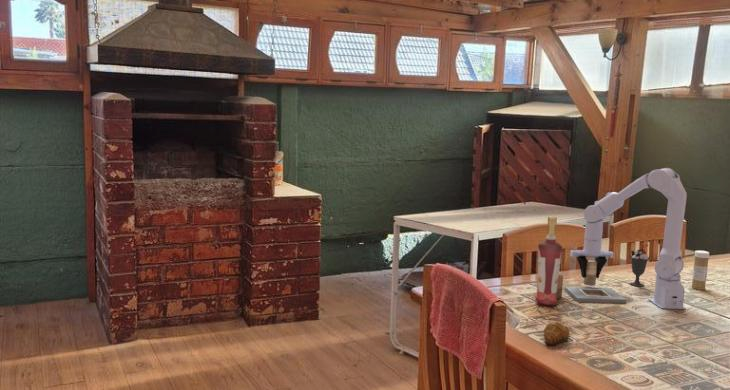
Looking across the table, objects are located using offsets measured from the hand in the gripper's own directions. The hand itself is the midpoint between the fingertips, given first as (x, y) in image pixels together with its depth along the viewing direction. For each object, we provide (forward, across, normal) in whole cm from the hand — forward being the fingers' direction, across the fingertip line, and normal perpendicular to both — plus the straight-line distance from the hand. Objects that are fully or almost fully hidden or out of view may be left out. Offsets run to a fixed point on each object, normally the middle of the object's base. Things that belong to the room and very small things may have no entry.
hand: (590, 277), depth 224 cm
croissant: (+4, +27, +52) cm, 59 cm away
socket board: (+4, +2, +11) cm, 12 cm away
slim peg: (+2, 0, 0) cm, 2 cm away
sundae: (+4, -19, -5) cm, 20 cm away
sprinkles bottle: (+4, -40, -3) cm, 40 cm away
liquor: (+4, +21, +21) cm, 30 cm away
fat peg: (+4, +17, +11) cm, 20 cm away
